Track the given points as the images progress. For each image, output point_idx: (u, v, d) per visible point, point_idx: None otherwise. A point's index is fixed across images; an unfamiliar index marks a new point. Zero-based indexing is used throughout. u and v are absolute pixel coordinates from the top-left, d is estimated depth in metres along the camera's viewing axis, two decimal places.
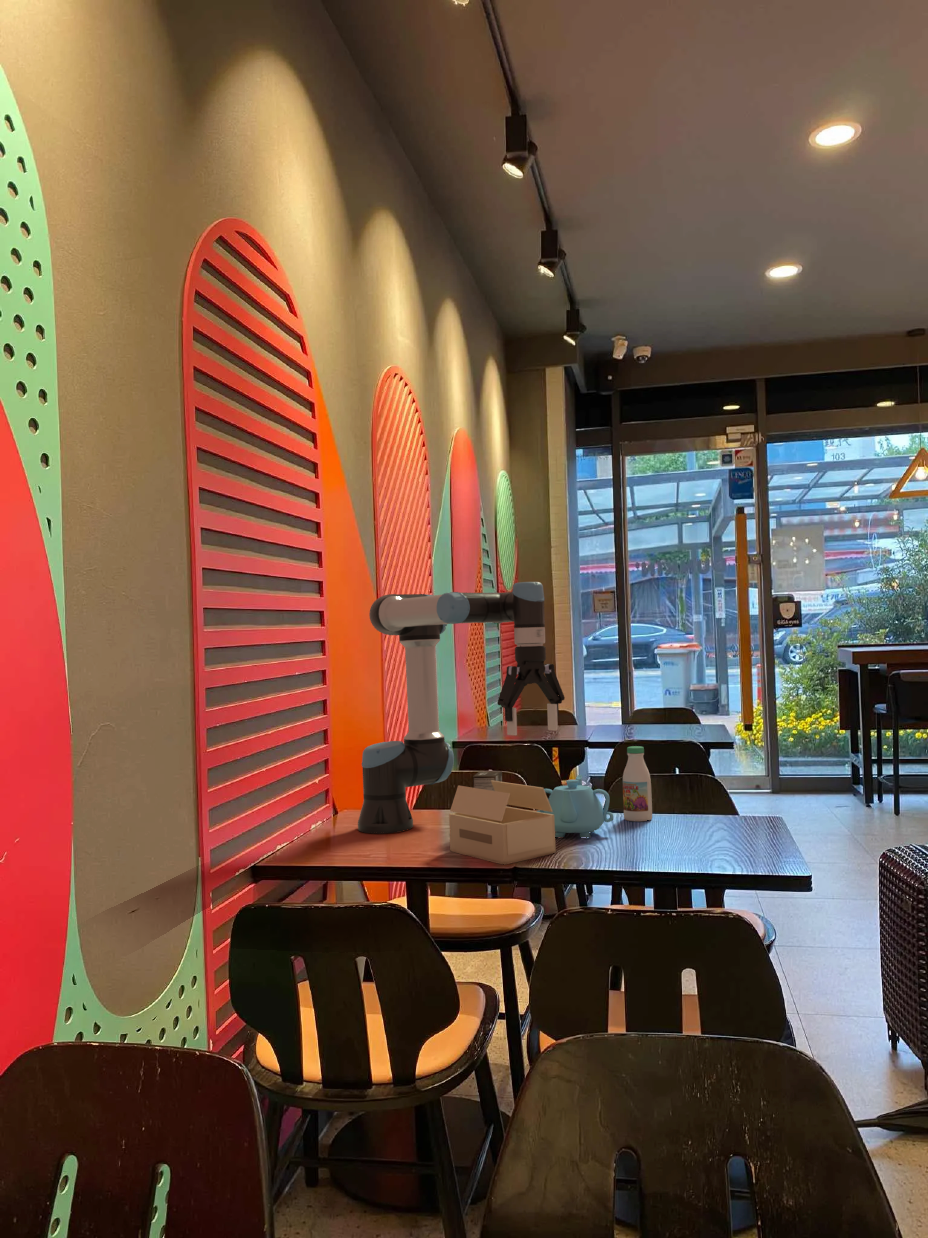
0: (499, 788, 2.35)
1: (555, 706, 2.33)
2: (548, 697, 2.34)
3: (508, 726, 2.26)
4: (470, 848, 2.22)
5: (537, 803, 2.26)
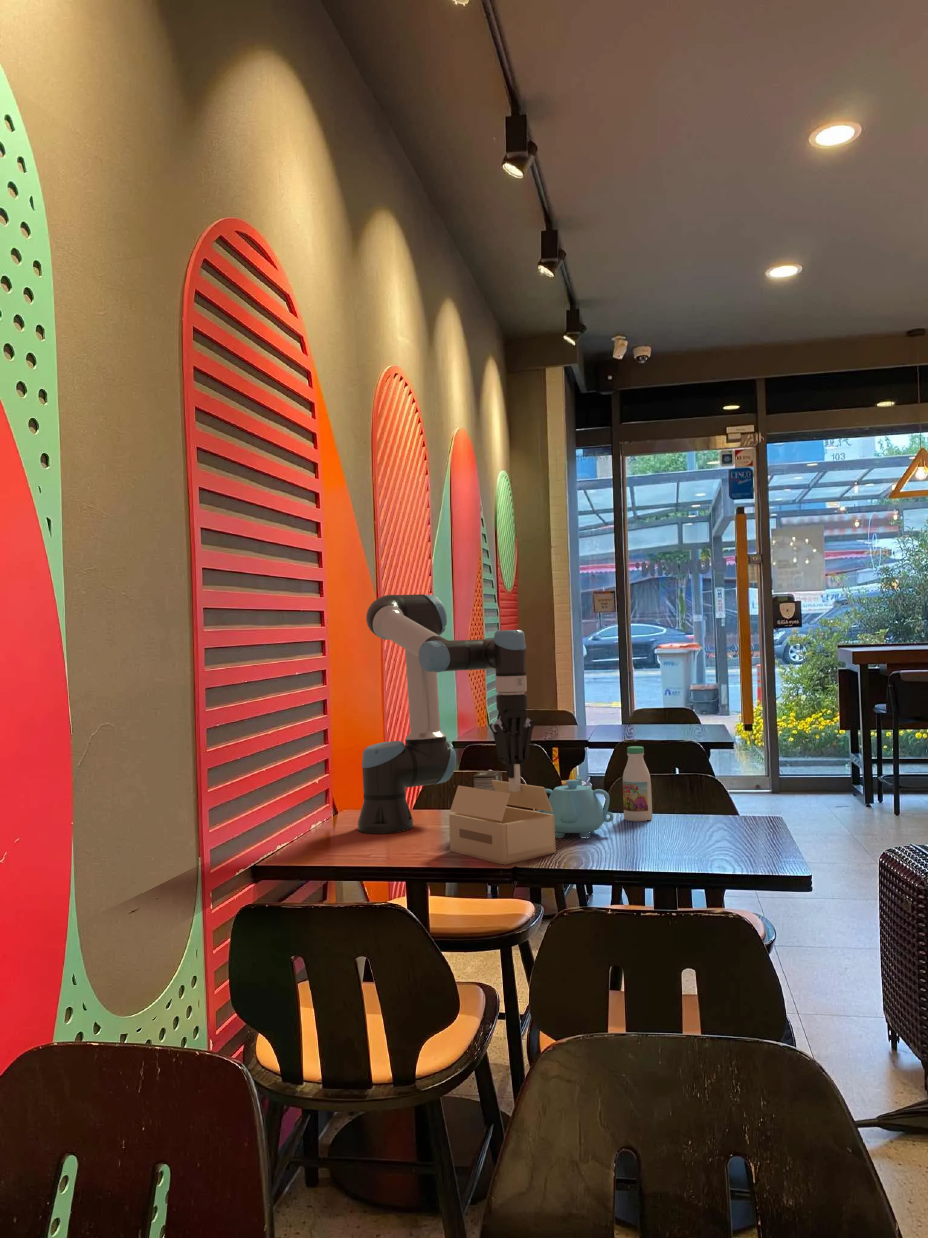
0: (499, 788, 2.35)
1: (518, 766, 2.28)
2: None
3: (510, 782, 2.29)
4: (470, 848, 2.22)
5: (537, 803, 2.26)
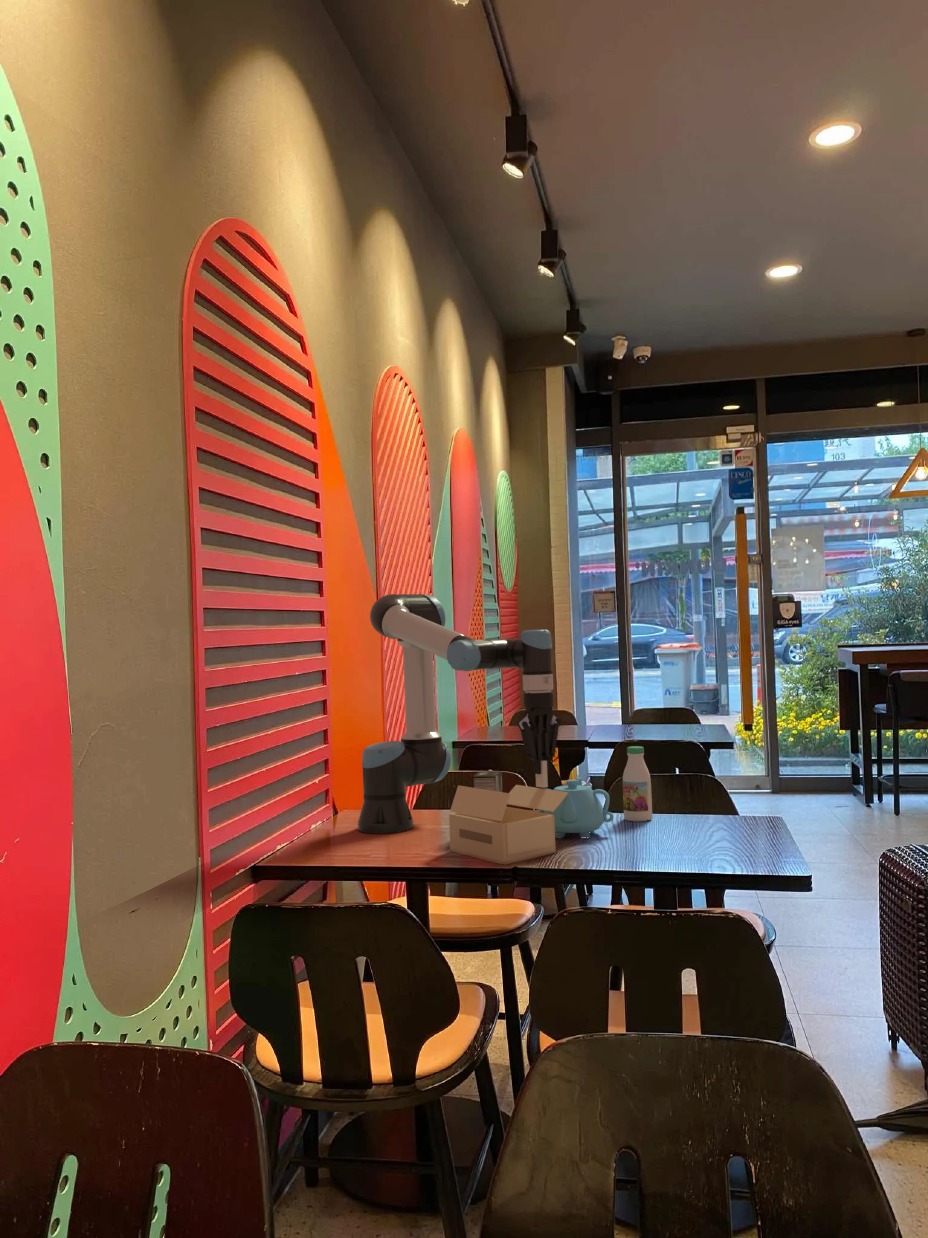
0: (517, 790, 2.39)
1: (545, 763, 2.33)
2: None
3: (537, 778, 2.34)
4: (470, 848, 2.22)
5: (545, 804, 2.27)
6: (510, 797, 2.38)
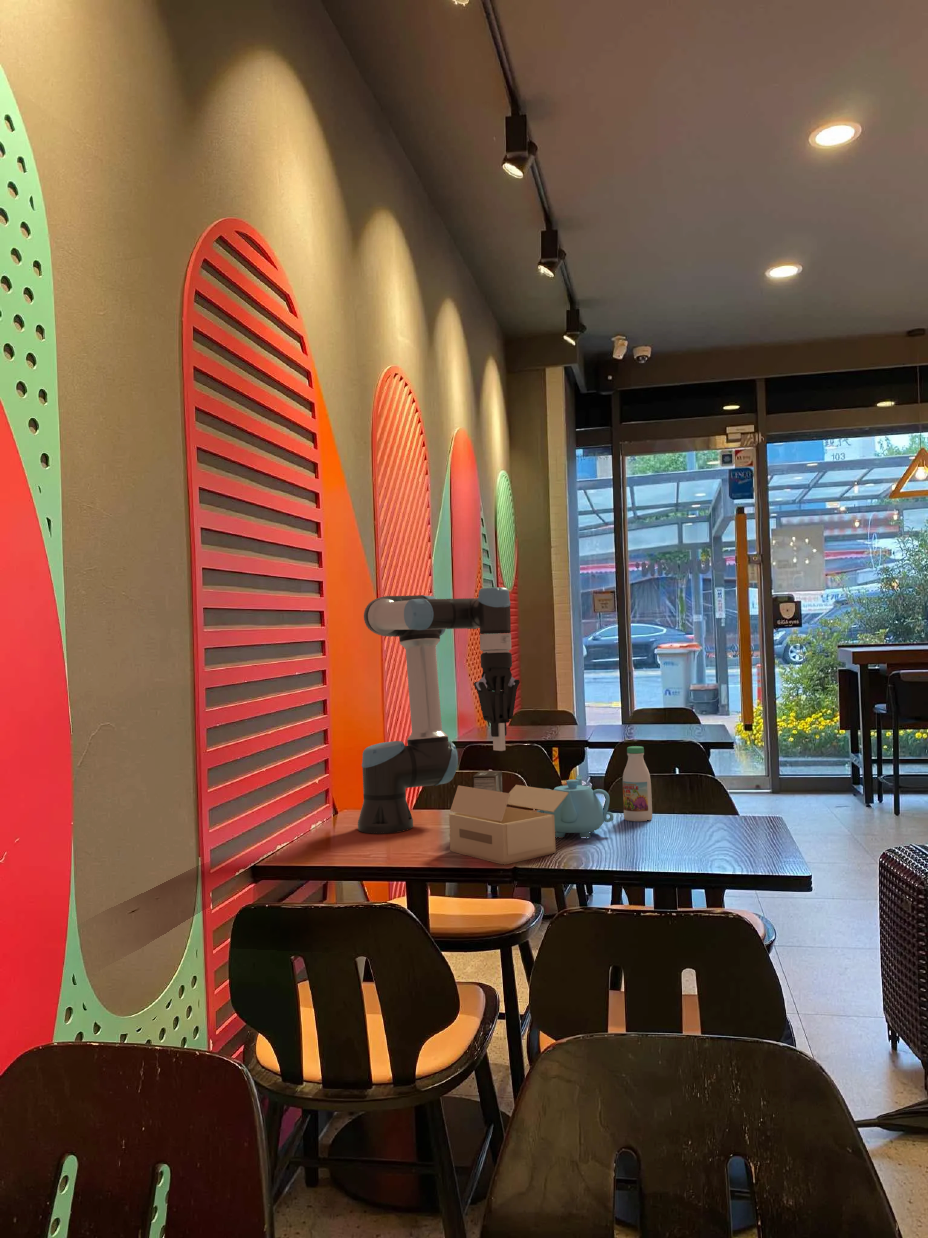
0: (517, 790, 2.39)
1: (502, 725, 2.26)
2: (498, 712, 2.27)
3: (494, 741, 2.26)
4: (470, 848, 2.22)
5: (545, 804, 2.27)
6: (510, 797, 2.38)
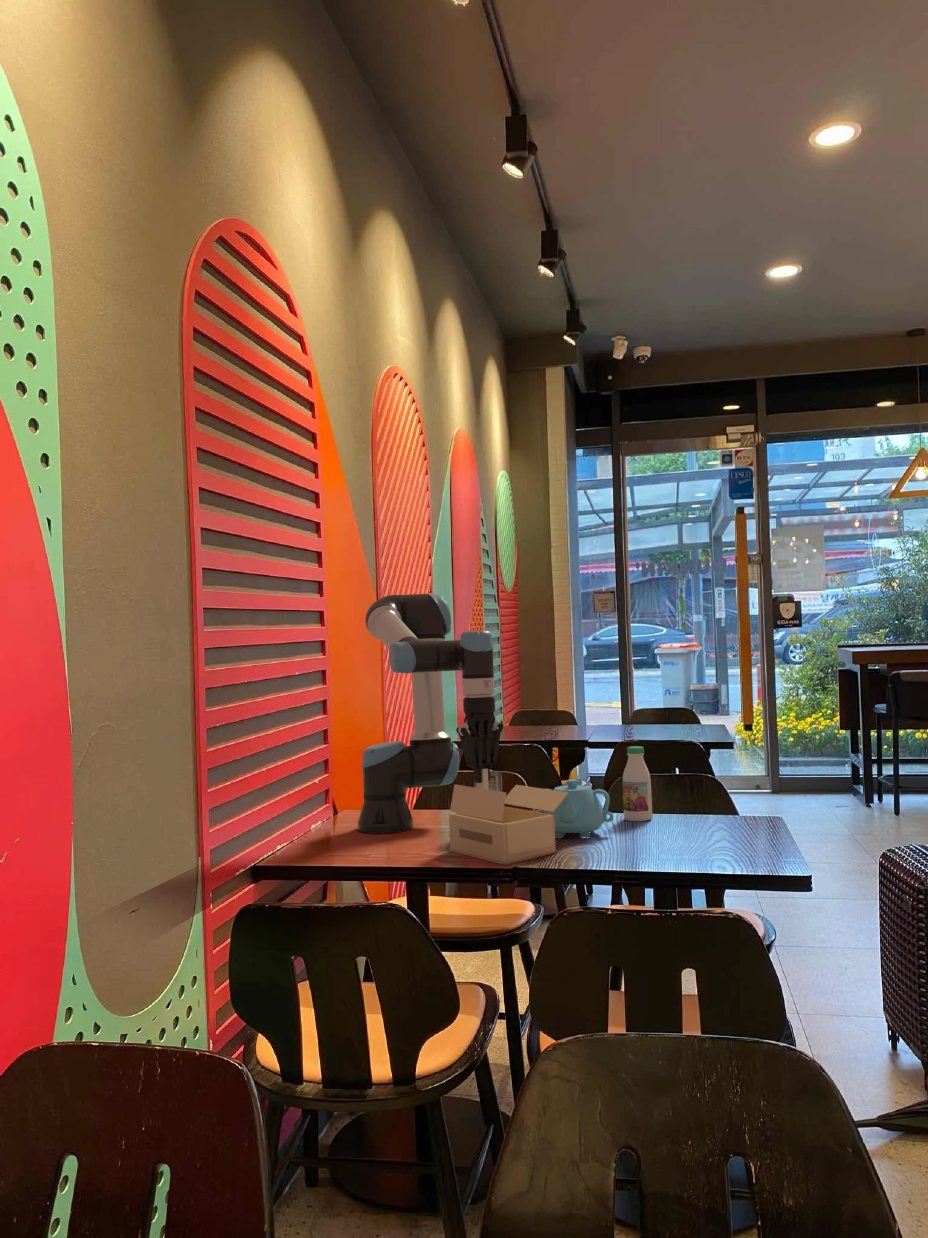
0: (517, 790, 2.39)
1: (486, 771, 2.22)
2: (482, 757, 2.23)
3: (478, 787, 2.23)
4: (470, 848, 2.22)
5: (545, 804, 2.27)
6: (510, 797, 2.38)
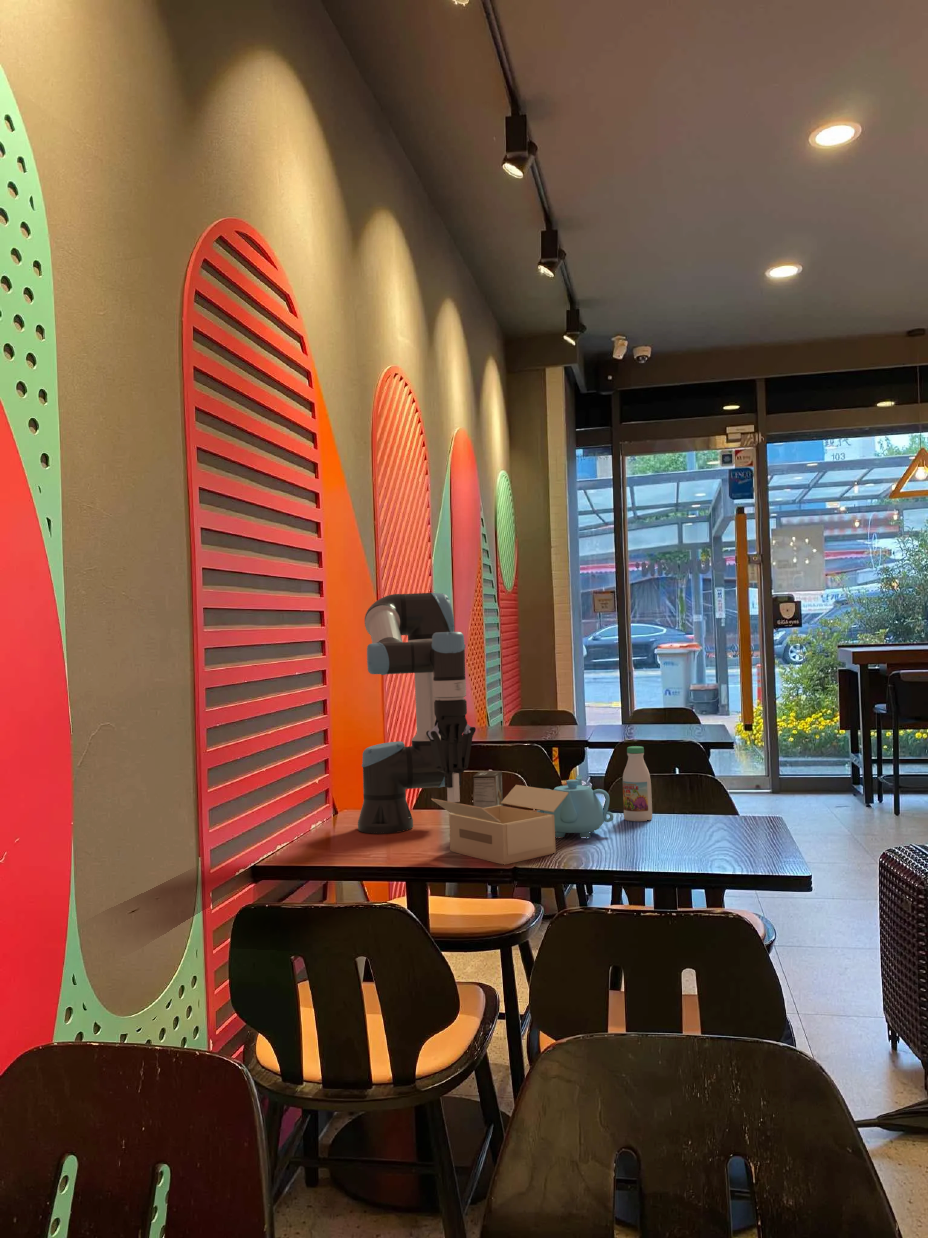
0: (517, 790, 2.39)
1: (457, 775, 2.16)
2: (453, 762, 2.18)
3: (448, 792, 2.17)
4: (470, 848, 2.22)
5: (545, 804, 2.27)
6: (510, 797, 2.38)
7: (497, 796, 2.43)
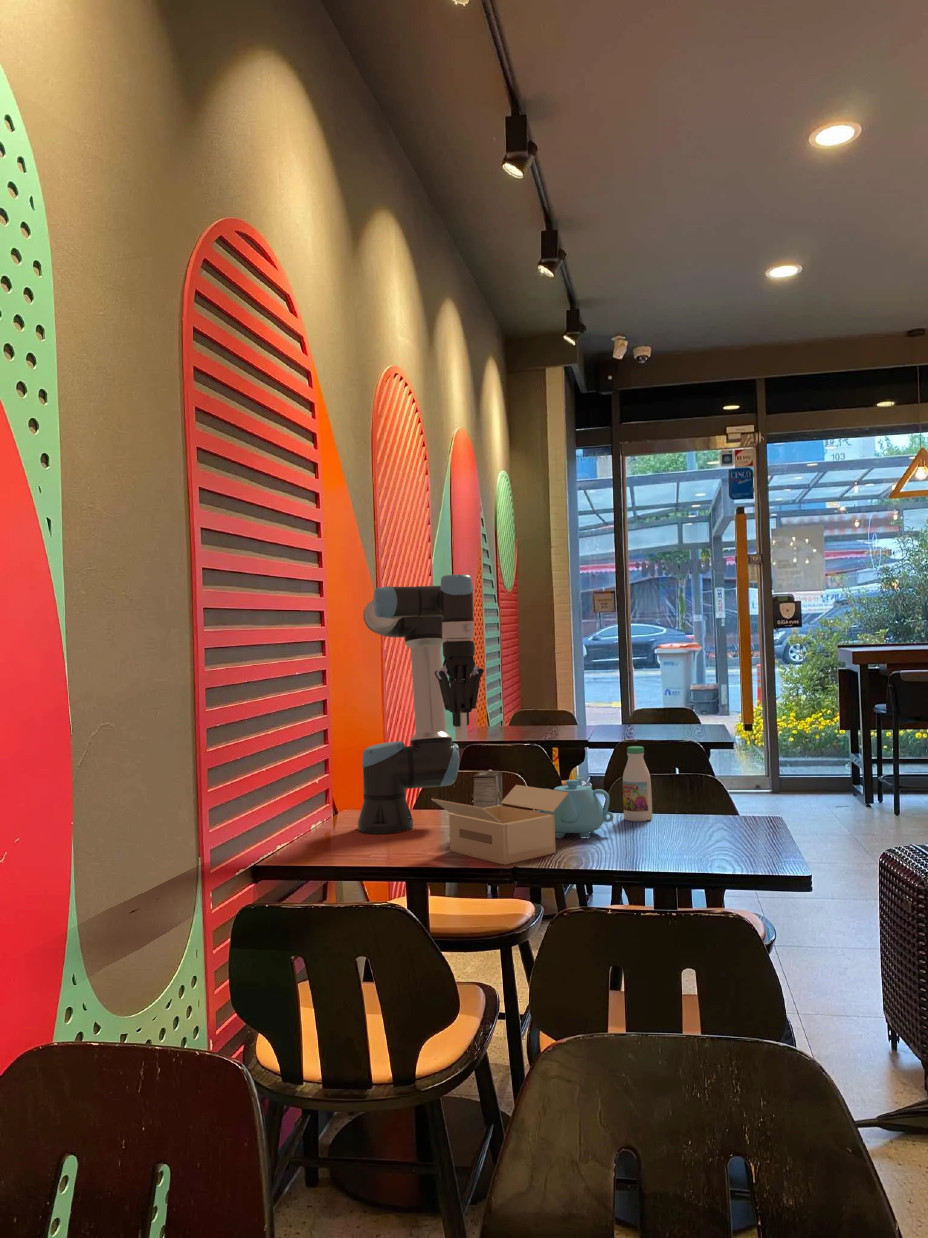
0: (517, 790, 2.39)
1: (464, 715, 2.22)
2: (461, 702, 2.23)
3: (456, 731, 2.23)
4: (470, 848, 2.22)
5: (545, 804, 2.27)
6: (510, 797, 2.38)
7: (497, 796, 2.43)
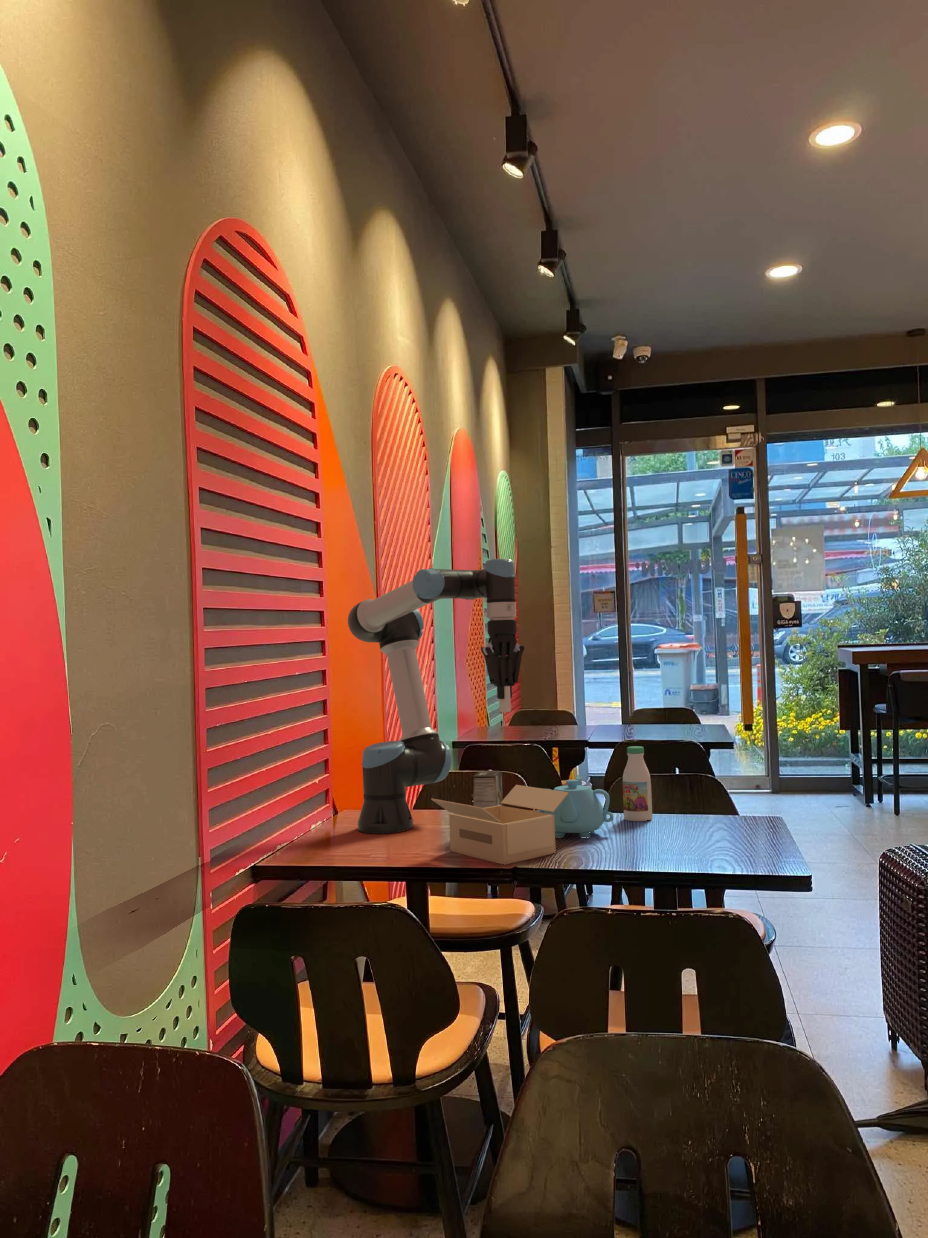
0: (517, 790, 2.39)
1: (508, 688, 2.40)
2: (504, 676, 2.42)
3: (500, 703, 2.41)
4: (470, 848, 2.22)
5: (545, 804, 2.27)
6: (510, 797, 2.38)
7: (497, 796, 2.43)
